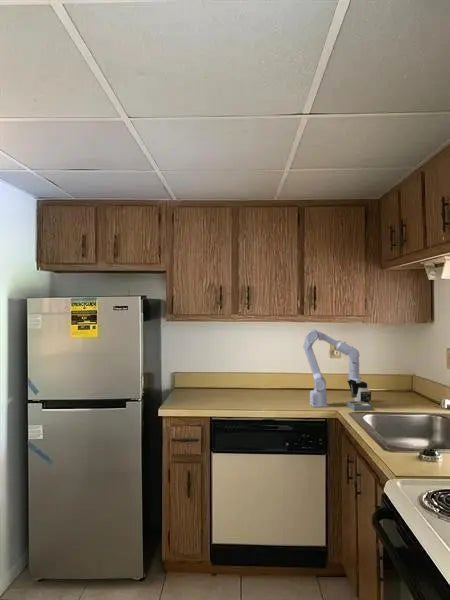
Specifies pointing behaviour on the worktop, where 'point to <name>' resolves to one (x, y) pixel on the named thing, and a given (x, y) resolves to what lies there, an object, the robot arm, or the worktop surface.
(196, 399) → the worktop surface
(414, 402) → the worktop surface
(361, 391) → the medicine bottle
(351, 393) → the plug
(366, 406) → the socket block
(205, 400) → the worktop surface
